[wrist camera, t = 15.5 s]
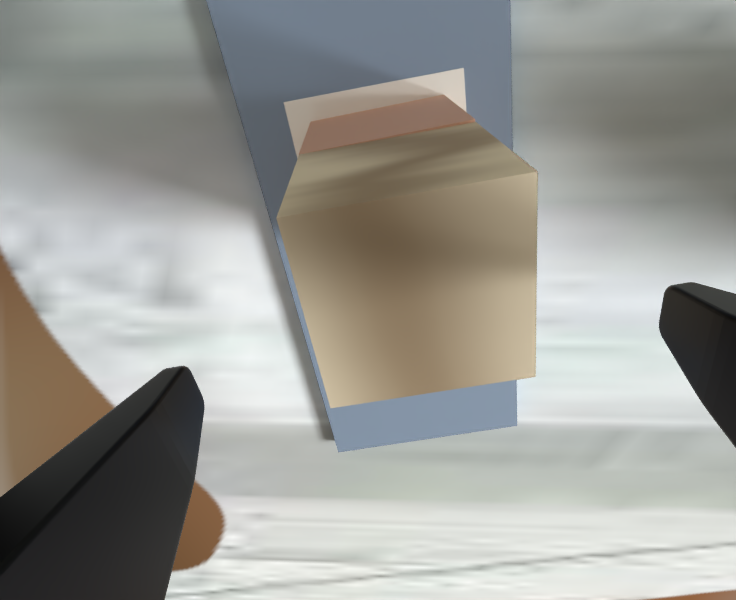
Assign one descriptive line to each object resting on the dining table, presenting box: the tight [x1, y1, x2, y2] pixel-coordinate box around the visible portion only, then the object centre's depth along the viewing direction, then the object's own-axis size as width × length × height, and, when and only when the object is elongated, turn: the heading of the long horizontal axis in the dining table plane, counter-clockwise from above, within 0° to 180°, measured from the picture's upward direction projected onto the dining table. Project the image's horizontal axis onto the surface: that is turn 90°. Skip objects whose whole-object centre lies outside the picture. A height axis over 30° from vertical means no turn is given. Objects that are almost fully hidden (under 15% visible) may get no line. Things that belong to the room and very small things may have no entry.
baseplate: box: [206, 0, 517, 452], centre depth 19 cm, size 10×30×1 cm, turn 10°
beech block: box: [276, 122, 538, 408], centre depth 12 cm, size 5×5×5 cm
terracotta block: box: [299, 95, 475, 154], centre depth 17 cm, size 5×5×5 cm
